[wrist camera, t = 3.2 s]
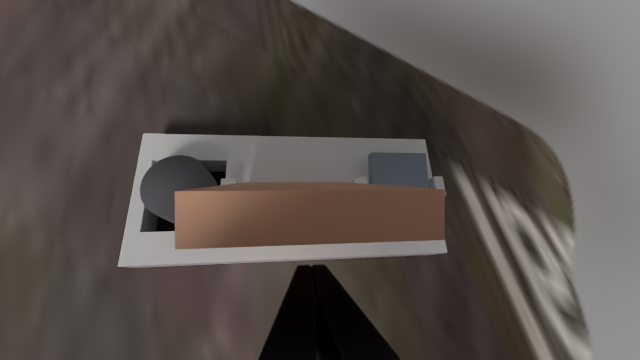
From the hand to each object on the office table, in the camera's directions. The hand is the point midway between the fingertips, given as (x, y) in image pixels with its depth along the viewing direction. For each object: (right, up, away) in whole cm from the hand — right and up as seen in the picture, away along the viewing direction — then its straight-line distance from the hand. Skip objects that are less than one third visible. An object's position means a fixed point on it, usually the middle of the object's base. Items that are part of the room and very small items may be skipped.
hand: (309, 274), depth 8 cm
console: (-2, +1, +11) cm, 11 cm away
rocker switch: (+5, +2, +9) cm, 11 cm away
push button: (-8, +1, +10) cm, 13 cm away
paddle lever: (-1, +2, +9) cm, 9 cm away
